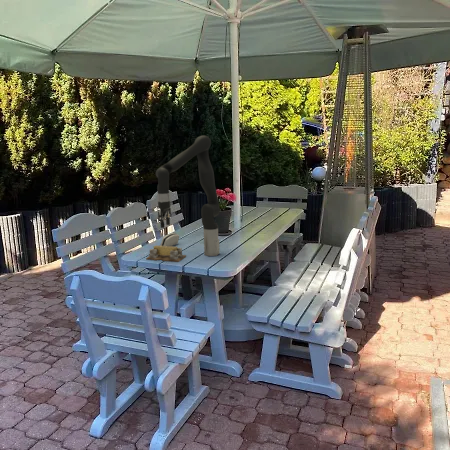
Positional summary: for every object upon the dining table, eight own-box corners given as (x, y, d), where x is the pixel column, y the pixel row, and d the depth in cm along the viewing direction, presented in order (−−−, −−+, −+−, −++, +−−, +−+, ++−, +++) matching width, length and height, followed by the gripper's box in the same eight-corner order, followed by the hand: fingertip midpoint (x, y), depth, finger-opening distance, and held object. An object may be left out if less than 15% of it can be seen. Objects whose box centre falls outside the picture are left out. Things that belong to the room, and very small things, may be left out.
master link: (153, 254, 289) (153, 246, 288) (156, 253, 292) (155, 245, 290) (175, 255, 284) (175, 247, 283) (177, 254, 287) (177, 246, 286)
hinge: (172, 242, 327) (175, 230, 323) (177, 245, 325) (180, 233, 322) (157, 248, 313) (161, 235, 309) (163, 251, 311) (166, 238, 307)
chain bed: (186, 256, 291) (185, 247, 289) (178, 262, 279) (178, 252, 278) (154, 254, 297) (154, 245, 296) (146, 259, 286) (145, 250, 285)
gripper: (163, 198, 289) (164, 223, 292) (153, 202, 276) (155, 228, 279) (174, 198, 287) (175, 224, 290) (164, 202, 274) (166, 228, 277)
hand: (165, 226), depth 285 cm, fingers open, 8 cm apart
